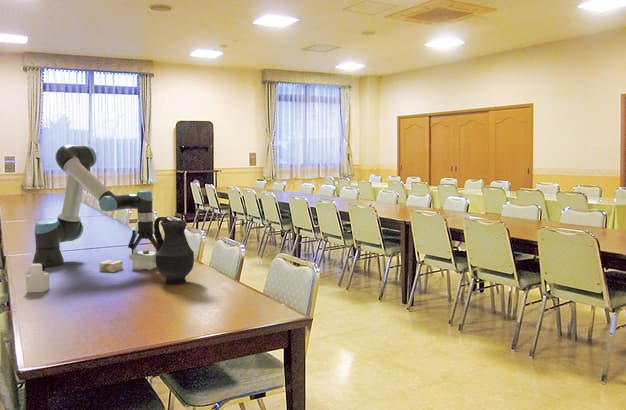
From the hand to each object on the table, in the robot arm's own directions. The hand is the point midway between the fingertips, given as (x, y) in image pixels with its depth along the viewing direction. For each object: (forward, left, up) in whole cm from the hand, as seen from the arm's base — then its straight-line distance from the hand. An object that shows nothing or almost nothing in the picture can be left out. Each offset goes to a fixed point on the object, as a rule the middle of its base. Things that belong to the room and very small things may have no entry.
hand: (146, 262), depth 301 cm
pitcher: (+29, -26, -3) cm, 39 cm away
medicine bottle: (-18, -57, -3) cm, 60 cm away
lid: (0, 0, +2) cm, 2 cm away
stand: (-14, -10, -3) cm, 17 cm away
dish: (0, 0, -3) cm, 3 cm away
